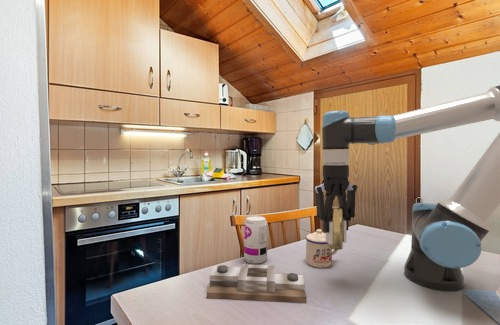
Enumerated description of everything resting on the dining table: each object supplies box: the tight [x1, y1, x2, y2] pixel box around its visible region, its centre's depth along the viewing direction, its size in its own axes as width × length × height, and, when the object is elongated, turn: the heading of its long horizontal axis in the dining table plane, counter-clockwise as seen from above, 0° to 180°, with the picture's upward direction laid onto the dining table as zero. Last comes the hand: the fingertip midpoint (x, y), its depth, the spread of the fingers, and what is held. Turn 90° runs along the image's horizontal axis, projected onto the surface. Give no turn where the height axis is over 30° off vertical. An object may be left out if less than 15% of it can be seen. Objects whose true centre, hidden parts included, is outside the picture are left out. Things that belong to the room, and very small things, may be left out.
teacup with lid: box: [305, 228, 339, 269], centre depth 95 cm, size 12×9×12 cm
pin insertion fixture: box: [206, 263, 307, 304], centre depth 78 cm, size 26×13×6 cm, turn 85°
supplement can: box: [243, 215, 268, 265], centre depth 97 cm, size 8×8×15 cm
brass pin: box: [329, 205, 344, 251], centre depth 82 cm, size 4×4×12 cm
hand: (335, 241), depth 82 cm, fingers closed on brass pin, 4 cm apart
